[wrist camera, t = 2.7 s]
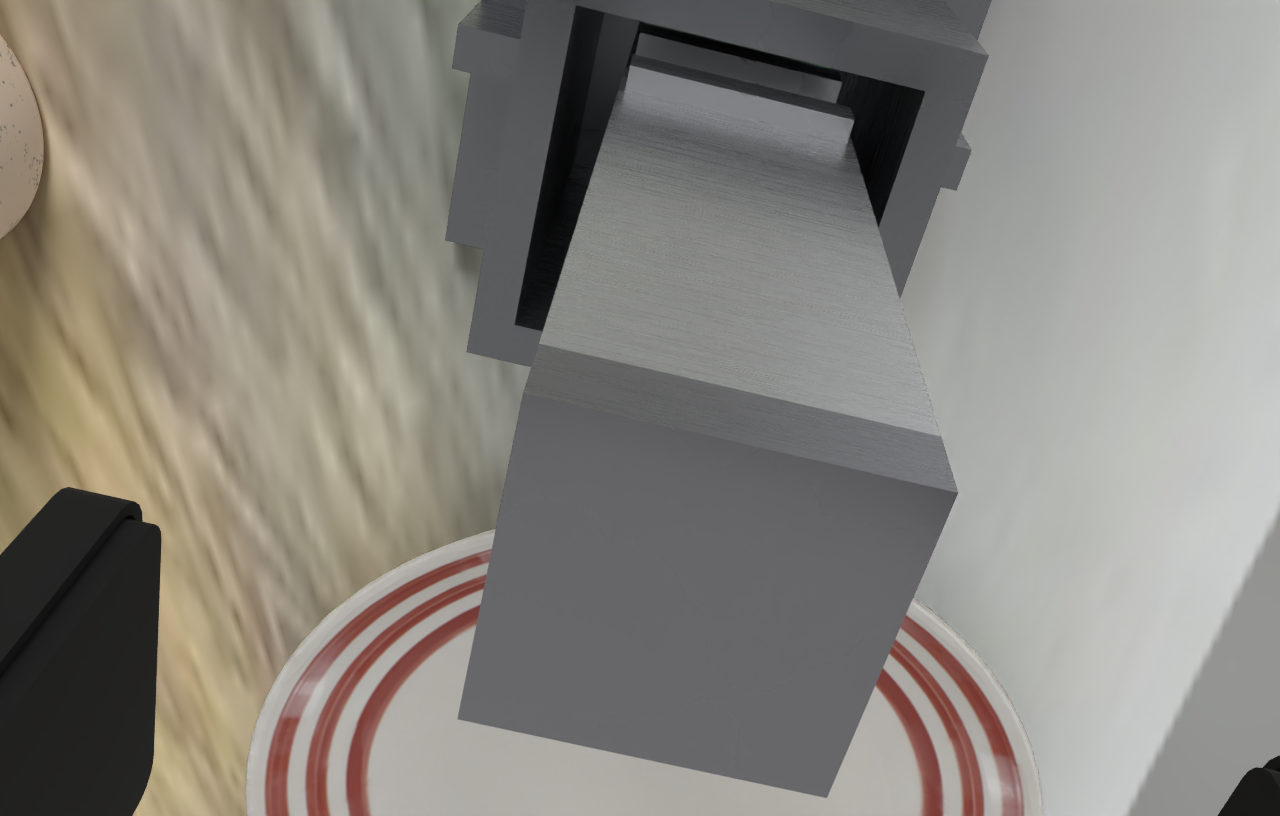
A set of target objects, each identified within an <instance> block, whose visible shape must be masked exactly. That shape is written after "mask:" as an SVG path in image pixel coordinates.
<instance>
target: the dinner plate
mask: <svg viewBox="0 0 1280 816" xmlns="http://www.w3.org/2000/svg"><path fill="white" fill-rule="evenodd" d="M495 530H496V529H493V530H489V531H485V532H482V533H479V534H476V535H473V536H470V537H467V538H464V539H461V540H458V541H455V542H453V543H450V544H447V545H445V546H442V547H440V548H437V549H435V550H432V551H429V552H427V553H425V554H423V555H420V556H418V557H416V558H413V559H411V560H409V561H407V562H405V563H403V564H402V565H400V566H398V567H397V568H395V569H393V570H391V571H389V572H386V573H384V574H383V575H381V576H380V577H378V578H377V579H375V580H373V581H372V582H370V583H369V584H367V585H366V586H364V587H363V588H361V589H360V590H359V591H357V592H356V593H355V594H354V595H352V596H351V597H350V598H348V599H347V600H346V601H344V602H343V603H342V604H341V605H339V606H338V607H337V608H335V609H334V610H333V611H332V612H330V613H329V614H328V615H327V616H326V617H325V618H324V619H323V620H322V621H321V622H320V623H319V624H318V625H317V626H316V627H315V628H314V629H313V630H312V631H311V632H310V633H309V634H308V635H307V636H306V638H305V639H304V640H303V641H302V642H301V644H300V645H299V646H298V647H297V648H296V649H295V651H294V652H293V653H292V655H291V656H290V657H289V659H288V660H287V662H286V663H285V665H284V666H283V668H282V670H281V672H280V673H279V675H278V677H277V678H276V680H275V682H274V683H273V685H272V687H271V689H270V690H269V692H268V694H267V697H266V699H265V701H264V703H263V705H262V708H261V711H260V714H259V716H258V719H257V722H256V725H255V727H254V731H253V735H252V739H251V743H250V748H249V754H248V760H247V770H246V806H247V816H1043V803H1042V792H1041V786H1040V780H1039V773H1038V769H1037V766H1036V762H1035V758H1034V754H1033V751H1032V747H1031V744H1030V742H1029V739H1028V737H1027V734H1026V732H1025V729H1024V727H1023V725H1022V723H1021V720H1020V718H1019V716H1018V714H1017V712H1016V710H1015V708H1014V707H1013V705H1012V703H1011V701H1010V699H1009V697H1008V695H1007V694H1006V692H1005V690H1004V689H1003V687H1002V686H1001V684H1000V683H999V681H998V680H997V679H996V677H995V676H994V674H993V673H992V672H991V670H990V669H989V668H988V667H987V665H986V664H985V663H984V662H983V660H982V659H981V658H980V657H979V656H978V655H977V654H976V652H975V651H974V650H973V649H972V648H971V647H970V646H969V645H968V644H967V643H966V642H965V641H964V640H963V639H962V638H961V637H960V636H959V635H958V634H957V633H956V632H955V631H954V630H953V629H952V628H951V627H950V626H949V625H948V624H946V623H945V622H944V621H943V620H942V619H941V618H939V617H938V616H937V615H936V614H935V613H934V612H933V611H931V610H930V609H929V608H927V607H926V606H925V605H923V604H922V603H920V602H919V601H918V600H916V599H915V598H913V599H912V601H911V604H910V606H909V608H908V611H907V613H906V615H905V618H904V620H903V622H902V625H901V627H900V629H899V632H898V634H897V636H896V639H895V641H894V643H893V646H892V648H891V650H890V653H889V655H888V657H887V660H886V662H885V664H884V667H883V669H882V671H881V674H880V676H879V678H878V681H877V683H876V685H875V687H874V690H873V692H872V694H871V697H870V699H869V701H868V704H867V706H866V708H865V711H864V713H863V715H862V718H861V720H860V722H859V725H858V727H857V729H856V732H855V734H854V736H853V739H852V741H851V743H850V746H849V748H848V750H847V753H846V755H845V757H844V760H843V762H842V764H841V767H840V769H839V771H838V774H837V776H836V778H835V781H834V783H833V785H832V788H831V790H830V792H829V794H828V797H827V798H823V797H819V796H814V795H809V794H805V793H800V792H795V791H791V790H786V789H781V788H777V787H772V786H767V785H763V784H758V783H753V782H748V781H744V780H739V779H734V778H730V777H725V776H720V775H716V774H711V773H706V772H702V771H697V770H692V769H688V768H683V767H678V766H674V765H669V764H664V763H660V762H655V761H650V760H645V759H641V758H636V757H631V756H627V755H622V754H617V753H613V752H608V751H603V750H599V749H594V748H589V747H585V746H580V745H575V744H571V743H566V742H561V741H557V740H552V739H547V738H542V737H538V736H533V735H528V734H524V733H519V732H514V731H510V730H505V729H500V728H496V727H491V726H486V725H482V724H477V723H472V722H468V721H463V720H458V719H457V718H458V713H459V708H460V703H461V698H462V693H463V688H464V683H465V678H466V674H467V669H468V664H469V659H470V654H471V649H472V644H473V639H474V634H475V629H476V624H477V619H478V614H479V609H480V604H481V599H482V595H483V590H484V585H485V580H486V575H487V570H488V565H489V560H490V555H491V550H492V545H493V540H494V535H495Z"/></svg>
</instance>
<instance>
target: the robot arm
mask: <svg viewBox="0 0 1280 816" xmlns="http://www.w3.org/2000/svg"><path fill="white" fill-rule="evenodd" d="M160 563H161V531H160V528H159V527H158V526H157V525H155V524H150V523H145V522H143V521H142V511H141V508H140V506H139V504H137V503H136V502H134V501H129V500H125V499H120V498H116V497H111V496H107V495H102V494H98V493H93V492H88V491H84V490H79V489H75V488H70V487H67V488H64V489H61V490H60V491H59V492H57V493H56V494H55V495H54V496H53V497H52V498H51V499H50V500H49V501H48V503H47V504H46V505H45V506H44V507H43V508H42V509H41V510H40V511H39V513H38V514H37V515H36V516H35V517H34V518H33V519H32V520H31V521H30V523H29V524H28V525H27V526H26V527H25V528H24V529H23V530H22V531H21V533H20V534H19V535H18V536H17V537H16V538H15V539H14V540H13V541H12V543H11V544H10V545H9V546H8V547H7V548H6V549H5V550H4V551H3V553H2V554H1V555H0V816H132V815H133V813H134V811H135V810H136V808H137V806H138V804H139V802H140V800H141V798H142V796H143V794H144V791H145V789H146V786H147V783H148V780H149V777H150V773H151V769H152V764H153V756H154V732H155V704H156V676H157V647H158V619H159V591H160ZM1218 816H1280V756H1277V757H1275V758H1273V759H1271V760H1269V761H1268V763H1267V764H1266V765H1265V766H1264V767H1263V768H1254V769H1252V770H1250V771H1248V772H1247V773H1246V775H1245V776H1244V777H1243V778H1242V780H1241V781H1240V783H1239V784H1238V786H1237V787H1236V789H1235V790H1234V792H1233V793H1232V795H1231V796H1230V798H1229V799H1228V801H1227V802H1226V804H1225V805H1224V807H1223V808H1222V810H1221V811H1220V813H1219V814H1218Z"/></svg>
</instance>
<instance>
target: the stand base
mask: <svg viewBox="0 0 1280 816" xmlns="http://www.w3.org/2000/svg"><path fill="white" fill-rule="evenodd" d="M990 3H991V0H481V1H480V2H479V3H478V4H477V5H476V6H475V7H474V9H473V10H472V11H471V12H470V13H469V14H468V15H467V16H466V17H465V18H464V19H463V20H462V21H461V22H460V23H459V24H458V31H457V38H456V44H455V51H454V58H453V65H452V69H457V70H461V71H465V72H469V73H471V76H470V82H469V89H468V95H467V102H466V108H465V115H464V121H463V128H462V134H461V141H460V147H459V154H458V160H457V167H456V173H455V180H454V186H453V193H452V199H451V206H450V212H449V219H448V225H447V231H446V238H445V240H446V241H450V242H454V243H459V244H463V245H467V246H471V247H476V248H480V249H484V254H483V260H482V265H481V271H480V277H479V283H478V289H477V294H476V300H475V306H474V312H473V318H472V323H471V329H470V335H469V341H468V347H467V352H468V353H473V354H477V355H481V356H486V357H490V358H494V359H499V360H503V361H507V362H512V363H516V364H520V365H525V366H529V367H532V364H533V361H534V358H535V354H536V351H537V348H538V345H539V342H540V339H541V335H542V332H543V329H544V326H545V323H546V319H547V316H548V313H549V310H550V307H551V303H552V300H553V297H554V294H555V291H556V288H557V284H558V281H559V278H560V275H561V272H562V268H563V265H564V262H565V259H566V256H567V253H568V249H569V246H570V243H571V240H572V237H573V233H574V230H575V227H576V224H577V221H578V218H579V214H580V211H581V208H582V205H583V202H584V198H585V195H586V192H587V189H588V186H589V182H590V179H591V176H592V173H593V170H594V167H595V163H596V160H597V157H598V154H599V151H600V147H601V144H602V141H603V138H604V135H605V132H606V128H607V125H608V122H609V119H610V116H611V112H612V109H613V106H614V103H615V100H616V96H617V93H618V90H619V87H620V84H621V81H622V77H623V74H624V71H625V68H626V65H627V61H628V58H629V55H630V52H631V49H632V46H633V42H634V39H635V36H636V33H637V30H638V26H639V23H640V21H642V22H646V23H650V24H654V25H659V26H663V27H667V28H671V29H675V30H679V31H683V32H687V33H691V34H695V35H699V36H703V37H707V38H711V39H715V40H719V41H723V42H728V43H732V44H736V45H740V46H744V47H748V48H752V49H756V50H760V51H764V52H768V53H772V54H776V55H780V56H784V57H788V58H792V59H797V60H801V61H805V62H809V63H813V64H817V65H821V66H825V67H829V68H830V70H834V71H838V72H839V74H840V77H841V80H842V85H841V88H840V91H839V94H838V97H839V100H840V103H841V105H843V106H847V107H850V108H851V111H852V114H853V117H854V124H853V127H852V130H851V133H850V136H851V140H852V143H853V146H854V150H855V153H856V156H857V160H858V163H859V166H860V170H861V173H862V176H863V180H864V183H865V186H866V189H867V193H868V196H869V199H870V203H871V206H872V209H873V213H874V216H875V219H876V223H877V226H878V229H879V232H880V236H881V239H882V242H883V246H884V249H885V252H886V256H887V259H888V262H889V266H890V269H891V272H892V276H893V279H894V282H895V285H896V289H897V292H898V295H899V299H900V297H901V294H902V291H903V289H904V286H905V283H906V280H907V278H908V275H909V272H910V270H911V267H912V264H913V261H914V259H915V256H916V253H917V250H918V248H919V245H920V242H921V239H922V237H923V234H924V231H925V228H926V226H927V223H928V220H929V218H930V215H931V212H932V209H933V207H934V204H935V201H936V198H937V196H938V193H939V190H940V187H944V188H948V189H952V190H957V187H958V185H959V182H960V179H961V177H962V174H963V171H964V169H965V166H966V163H967V161H968V158H969V155H970V153H971V148H970V146H969V145H968V143H967V141H966V140H965V138H964V136H963V134H962V133H961V130H962V127H963V124H964V122H965V119H966V116H967V114H968V111H969V108H970V105H971V103H972V100H973V97H974V94H975V92H976V89H977V86H978V83H979V81H980V78H981V75H982V72H983V70H984V67H985V64H986V62H987V59H988V56H989V55H988V54H987V53H986V52H985V50H984V49H983V48H982V47H981V45H980V44H979V43H978V42H977V39H978V36H979V34H980V31H981V28H982V25H983V22H984V20H985V17H986V14H987V11H988V8H989V6H990Z"/></svg>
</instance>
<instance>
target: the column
mask: <svg viewBox="0 0 1280 816" xmlns="http://www.w3.org/2000/svg"><path fill="white" fill-rule="evenodd" d="M841 85H842V80H841V77H840V74H839V72H838V71H834V70H830V68H829V67H825V66H821V65H817V64H813V63H809V62H805V61H801V60H797V59H792V58H788V57H784V56H780V55H776V54H772V53H768V52H764V51H760V50H756V49H752V48H748V47H744V46H740V45H736V44H732V43H728V42H723V41H719V40H715V39H711V38H707V37H703V36H699V35H695V34H691V33H687V32H683V31H679V30H675V29H671V28H667V27H663V26H659V25H654V24H650V23H646V22H642V21H640V23H639V26H638V30H637V33H636V36H635V39H634V42H633V46H632V49H631V52H630V55H629V58H628V61H627V65H626V68H625V71H624V74H623V77H622V81H621V84H620V87H619V90H618V93H617V96H616V100H615V103H614V106H613V109H612V112H611V116H610V119H609V122H608V125H607V128H606V132H605V135H604V138H603V141H602V144H601V147H600V151H599V154H598V157H597V160H596V163H595V167H594V170H593V173H592V176H591V179H590V182H589V186H588V189H587V192H586V195H585V198H584V202H583V205H582V208H581V211H580V214H579V218H578V221H577V224H576V227H575V230H574V233H573V237H572V240H571V243H570V246H569V249H568V253H567V256H566V259H565V262H564V265H563V268H562V272H561V275H560V278H559V281H558V284H557V288H556V291H555V294H554V297H553V300H552V303H551V307H550V310H549V313H548V316H547V319H546V323H545V326H544V329H543V332H542V335H541V339H540V342H539V345H538V348H537V351H536V354H535V358H534V361H533V364H532V367H531V370H530V374H529V377H528V380H527V383H526V386H525V389H524V393H523V397H522V402H521V407H520V412H519V417H518V422H517V427H516V432H515V437H514V442H513V446H512V451H511V456H510V461H509V466H508V471H507V476H506V481H505V486H504V491H503V496H502V501H501V506H500V511H499V516H498V521H497V525H496V530H495V535H494V540H493V545H492V550H491V555H490V560H489V565H488V570H487V575H486V580H485V585H484V590H483V595H482V599H481V604H480V609H479V614H478V619H477V624H476V629H475V634H474V639H473V644H472V649H471V654H470V659H469V664H468V669H467V674H466V678H465V683H464V688H463V693H462V698H461V703H460V708H459V713H458V718H457V719H458V720H463V721H468V722H472V723H477V724H482V725H486V726H491V727H496V728H500V729H505V730H510V731H514V732H519V733H524V734H528V735H533V736H538V737H542V738H547V739H552V740H557V741H561V742H566V743H571V744H575V745H580V746H585V747H589V748H594V749H599V750H603V751H608V752H613V753H617V754H622V755H627V756H631V757H636V758H641V759H645V760H650V761H655V762H660V763H664V764H669V765H674V766H678V767H683V768H688V769H692V770H697V771H702V772H706V773H711V774H716V775H720V776H725V777H730V778H734V779H739V780H744V781H748V782H753V783H758V784H763V785H767V786H772V787H777V788H781V789H786V790H791V791H795V792H800V793H805V794H809V795H814V796H819V797H823V798H827V797H828V794H829V792H830V790H831V788H832V785H833V783H834V781H835V778H836V776H837V774H838V771H839V769H840V767H841V764H842V762H843V760H844V757H845V755H846V753H847V750H848V748H849V746H850V743H851V741H852V739H853V736H854V734H855V732H856V729H857V727H858V725H859V722H860V720H861V718H862V715H863V713H864V711H865V708H866V706H867V704H868V701H869V699H870V697H871V694H872V692H873V690H874V687H875V685H876V683H877V681H878V678H879V676H880V674H881V671H882V669H883V667H884V664H885V662H886V660H887V657H888V655H889V653H890V650H891V648H892V646H893V643H894V641H895V639H896V636H897V634H898V632H899V629H900V627H901V625H902V622H903V620H904V618H905V615H906V613H907V611H908V608H909V606H910V604H911V601H912V599H913V597H914V594H915V592H916V590H917V587H918V585H919V583H920V580H921V578H922V576H923V574H924V571H925V569H926V567H927V564H928V562H929V560H930V557H931V555H932V553H933V550H934V548H935V546H936V543H937V541H938V539H939V536H940V534H941V532H942V529H943V527H944V525H945V522H946V520H947V518H948V515H949V513H950V511H951V508H952V506H953V504H954V501H955V499H956V497H957V494H958V491H957V487H956V484H955V481H954V478H953V474H952V471H951V468H950V464H949V461H948V458H947V454H946V451H945V448H944V444H943V441H942V438H941V434H940V431H939V428H938V425H937V421H936V418H935V415H934V411H933V408H932V405H931V401H930V398H929V395H928V391H927V388H926V385H925V381H924V378H923V375H922V372H921V368H920V365H919V362H918V358H917V355H916V352H915V348H914V345H913V342H912V338H911V335H910V332H909V329H908V325H907V322H906V319H905V315H904V312H903V309H902V305H901V302H900V299H899V295H898V292H897V289H896V285H895V282H894V279H893V276H892V272H891V269H890V266H889V262H888V259H887V256H886V252H885V249H884V246H883V242H882V239H881V236H880V232H879V229H878V226H877V223H876V219H875V216H874V213H873V209H872V206H871V203H870V199H869V196H868V193H867V189H866V186H865V183H864V180H863V176H862V173H861V170H860V166H859V163H858V160H857V156H856V153H855V150H854V146H853V143H852V140H851V136H850V133H851V130H852V127H853V124H854V117H853V114H852V111H851V108H850V107H847V106H843V105H841V103H840V100H839V97H838V94H839V91H840V88H841Z"/></svg>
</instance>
